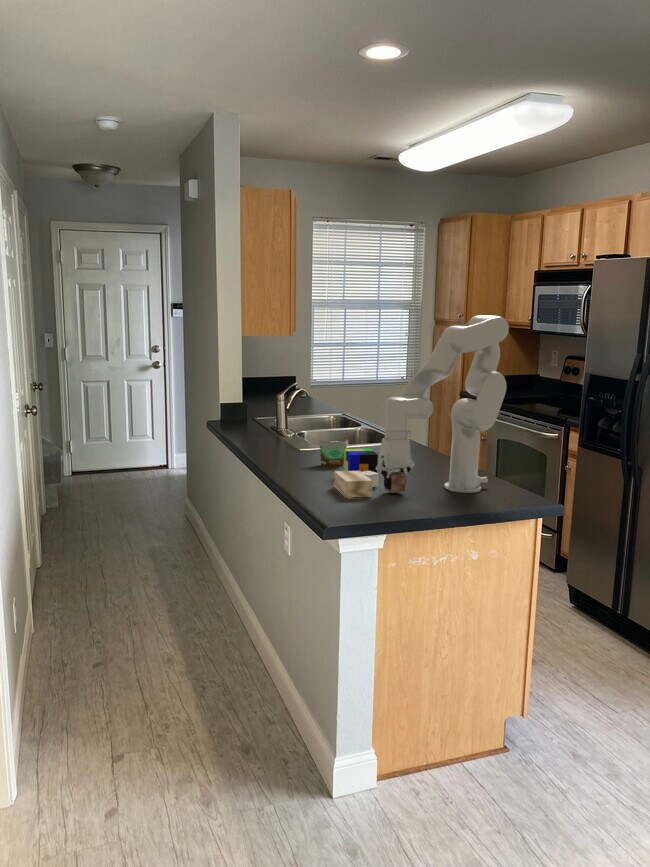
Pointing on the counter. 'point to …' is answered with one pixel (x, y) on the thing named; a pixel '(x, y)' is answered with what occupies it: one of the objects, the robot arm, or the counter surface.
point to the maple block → (352, 484)
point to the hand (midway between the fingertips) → (394, 487)
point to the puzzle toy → (360, 460)
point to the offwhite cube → (372, 477)
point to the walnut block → (397, 481)
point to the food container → (332, 452)
